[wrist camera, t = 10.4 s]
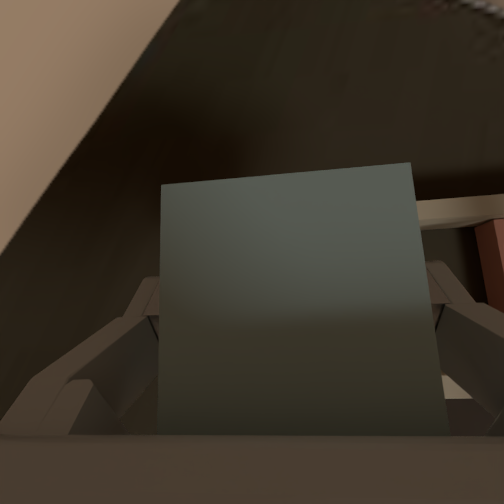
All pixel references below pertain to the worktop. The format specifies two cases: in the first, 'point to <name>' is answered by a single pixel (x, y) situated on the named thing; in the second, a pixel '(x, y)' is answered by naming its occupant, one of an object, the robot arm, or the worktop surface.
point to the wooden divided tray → (456, 216)
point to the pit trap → (492, 260)
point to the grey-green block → (297, 307)
